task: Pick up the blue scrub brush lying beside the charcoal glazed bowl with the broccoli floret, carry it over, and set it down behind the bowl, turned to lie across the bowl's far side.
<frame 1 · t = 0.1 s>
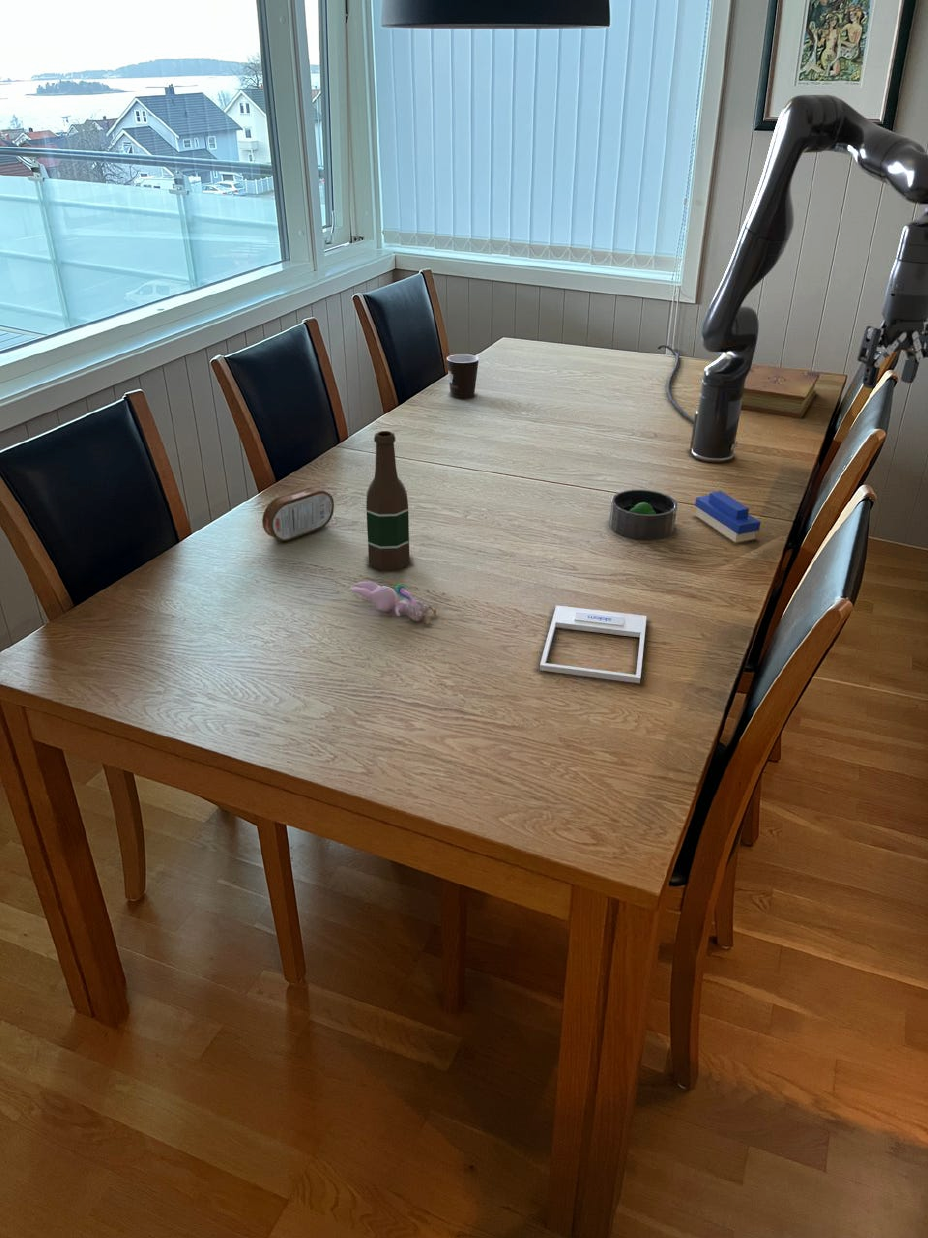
hand: (887, 384, 161), 29 cm above the table, tool pointing down, fingers open, 8 cm apart
rabbit figure: (392, 612, 150), on the table
broccoli floret: (641, 526, 178), resting on bowl
tin: (301, 534, 175), on the table
bowl: (641, 528, 178), on the table
beer bottle: (389, 562, 165), on the table
coffee mug: (462, 394, 251), on the table
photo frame: (595, 645, 142), on the table
brush: (724, 528, 178), on the table
diary: (772, 401, 249), on the table
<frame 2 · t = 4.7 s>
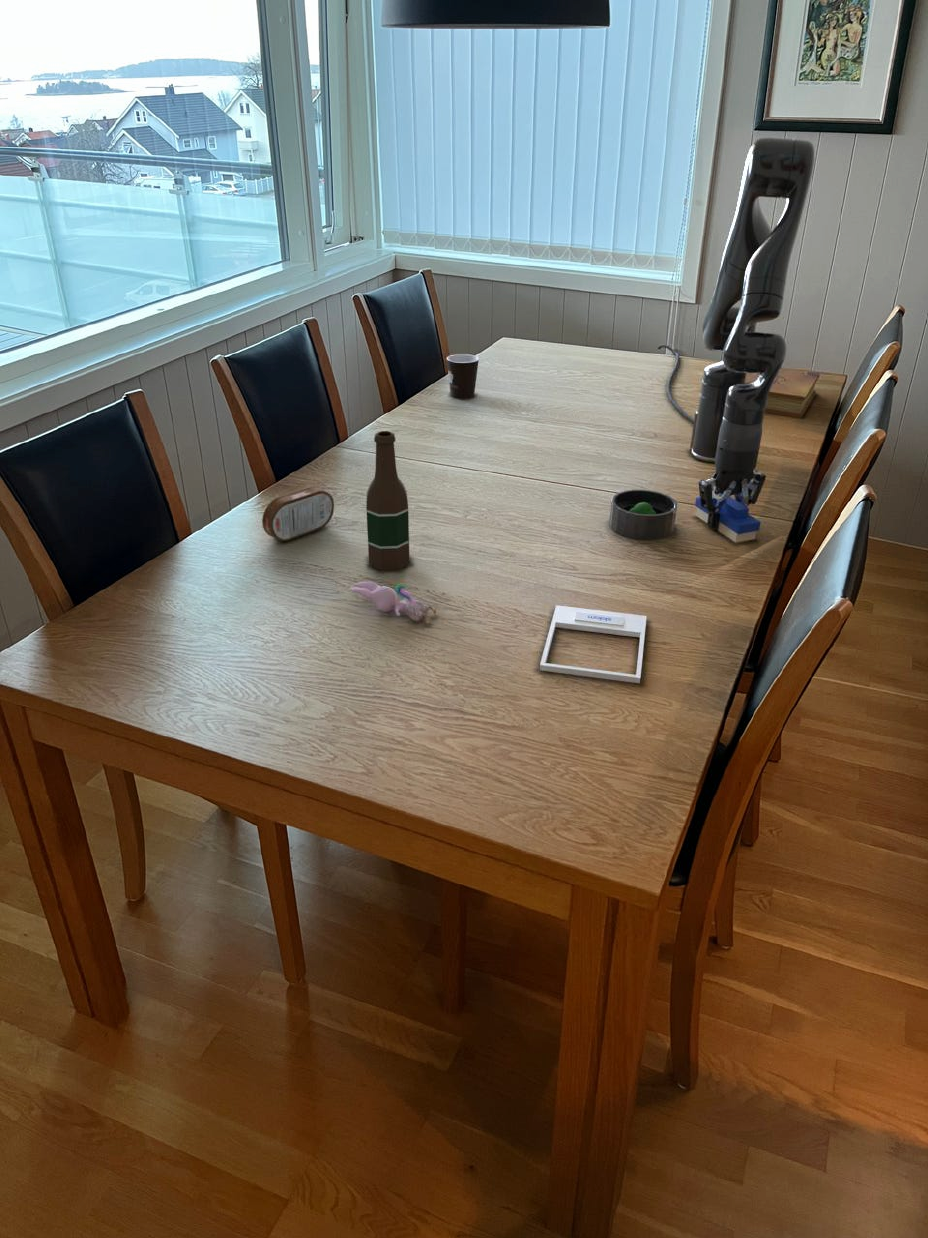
hand: (724, 526, 178), 1 cm above the table, tool pointing down, fingers closed on brush, 4 cm apart
brush: (724, 528, 178), on the table, touching gripper
everything else where it was.
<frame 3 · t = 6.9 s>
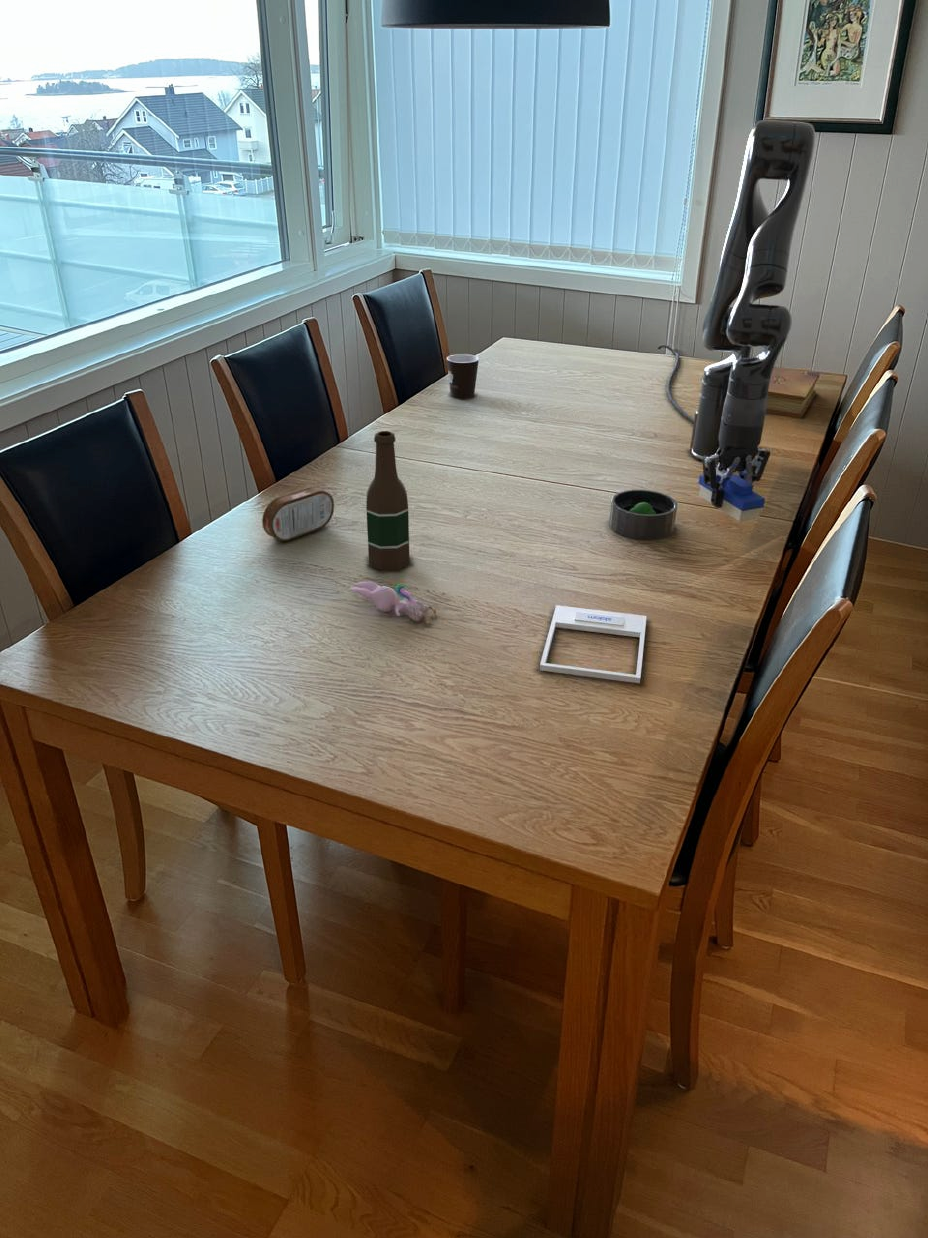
hand: (728, 503, 176), 5 cm above the table, tool pointing down, fingers closed on brush, 4 cm apart
brush: (728, 506, 176), point 5 cm above the table, touching gripper
everything else where it was.
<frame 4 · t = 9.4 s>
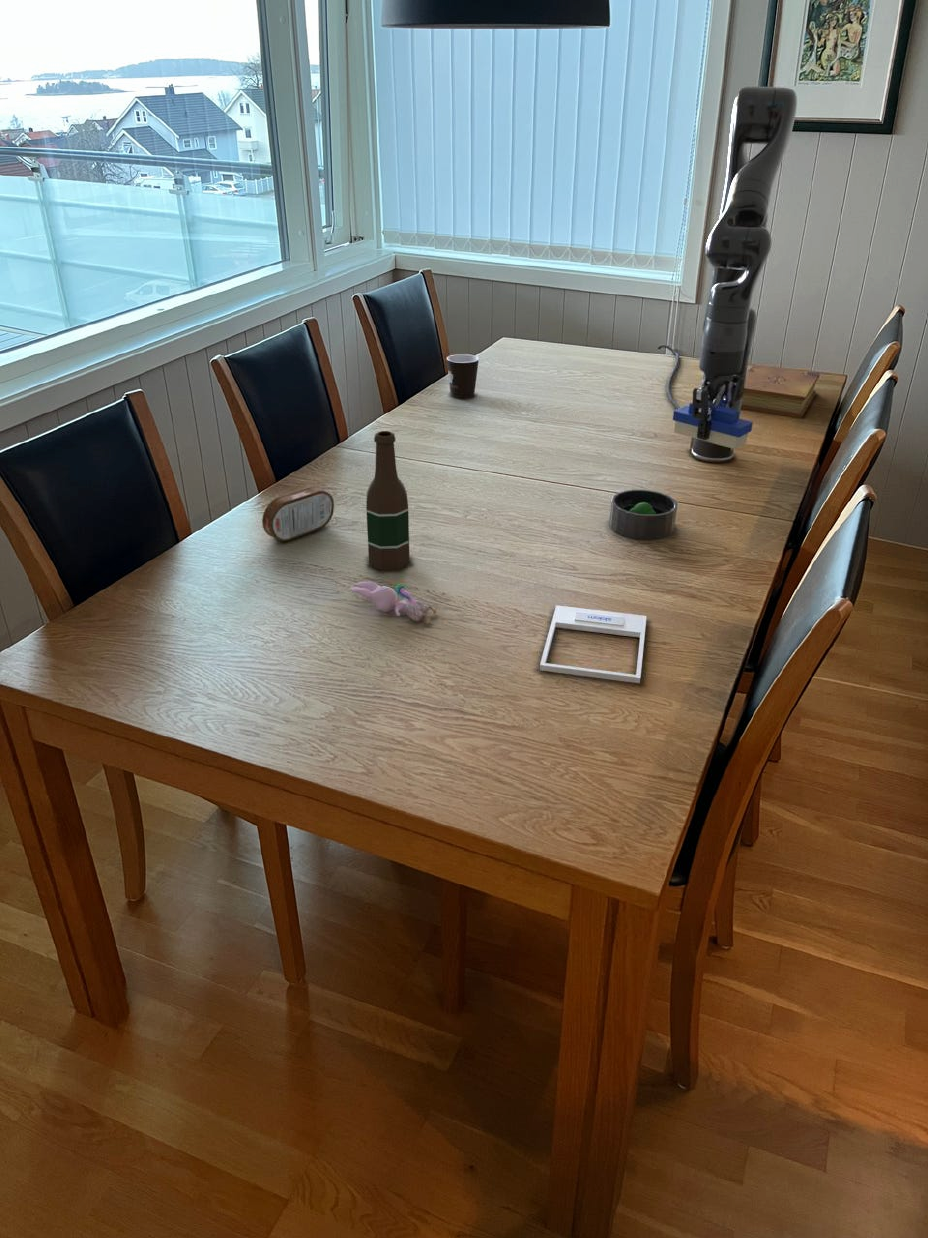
hand: (709, 434, 174), 17 cm above the table, tool pointing down, fingers closed on brush, 4 cm apart
brush: (709, 437, 174), point 17 cm above the table, touching gripper
everything else where it was.
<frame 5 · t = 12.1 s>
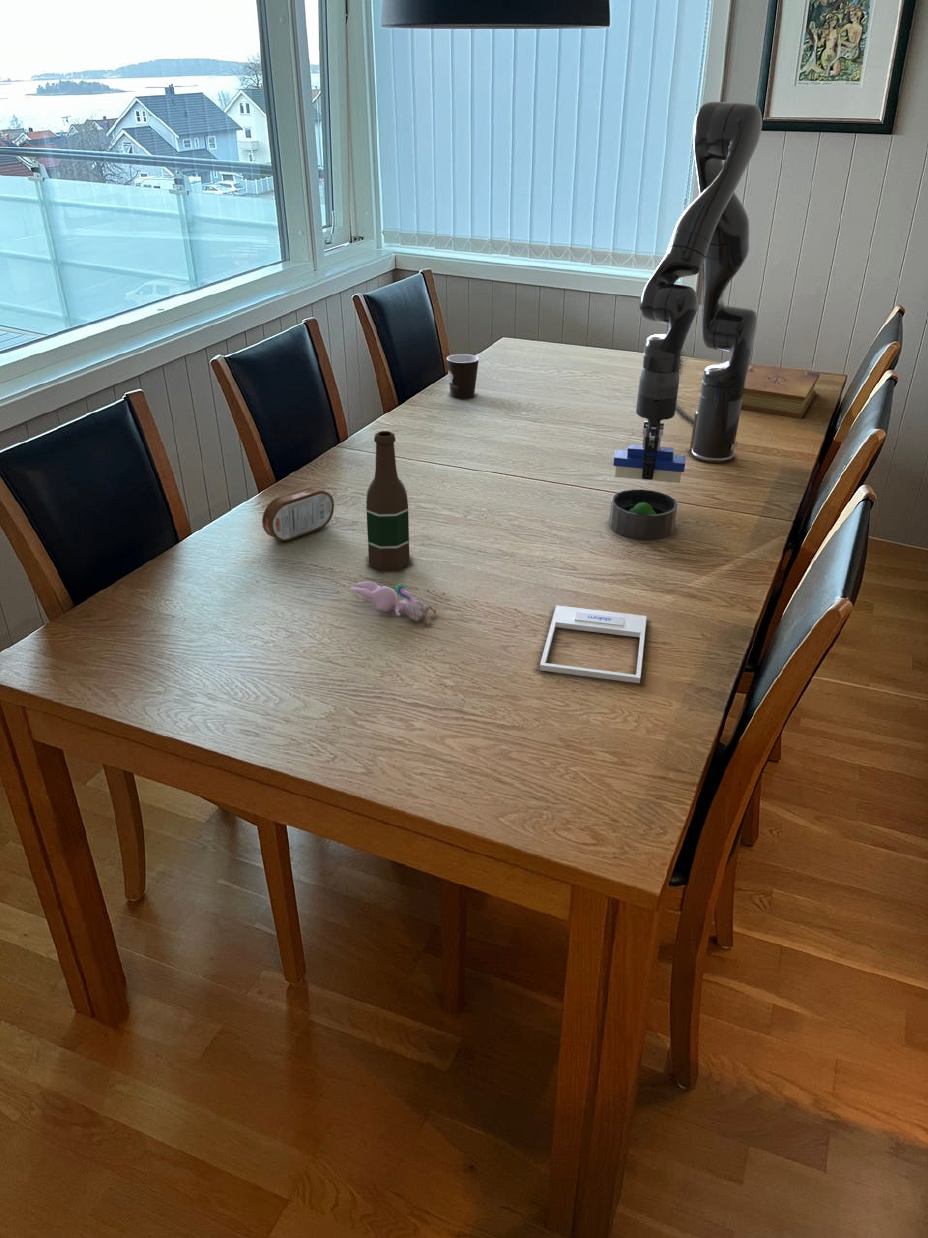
hand: (647, 473, 187), 6 cm above the table, tool pointing down, fingers closed on brush, 4 cm apart
brush: (647, 476, 187), point 5 cm above the table, touching gripper
everything else where it was.
when the fingers open (1 cm above the table, at t = 14.0 s): brush stays where it is, on the table.
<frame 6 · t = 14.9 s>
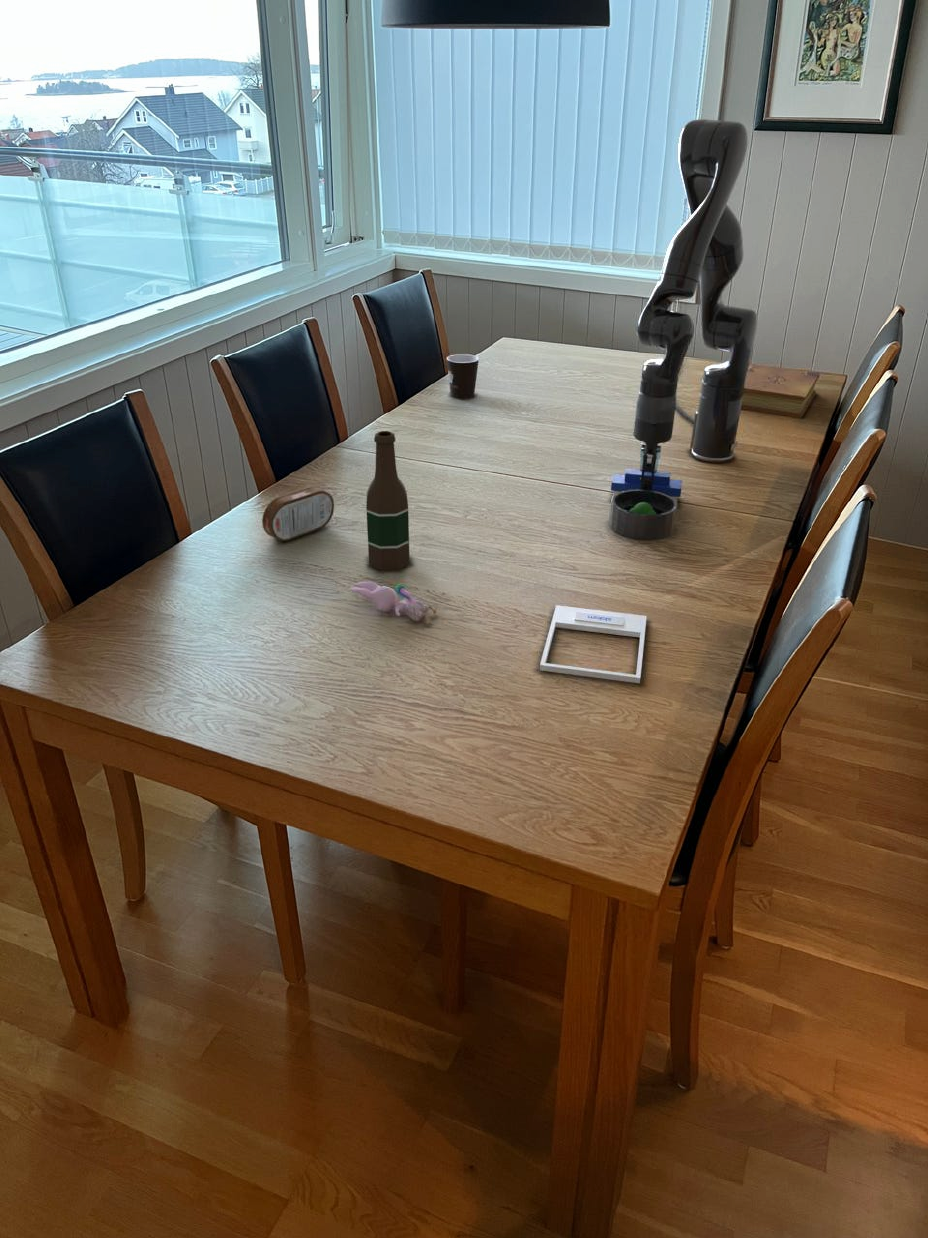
hand: (645, 491, 189), 2 cm above the table, tool pointing down, fingers open, 8 cm apart
brush: (644, 500, 190), on the table
everything else where it was.
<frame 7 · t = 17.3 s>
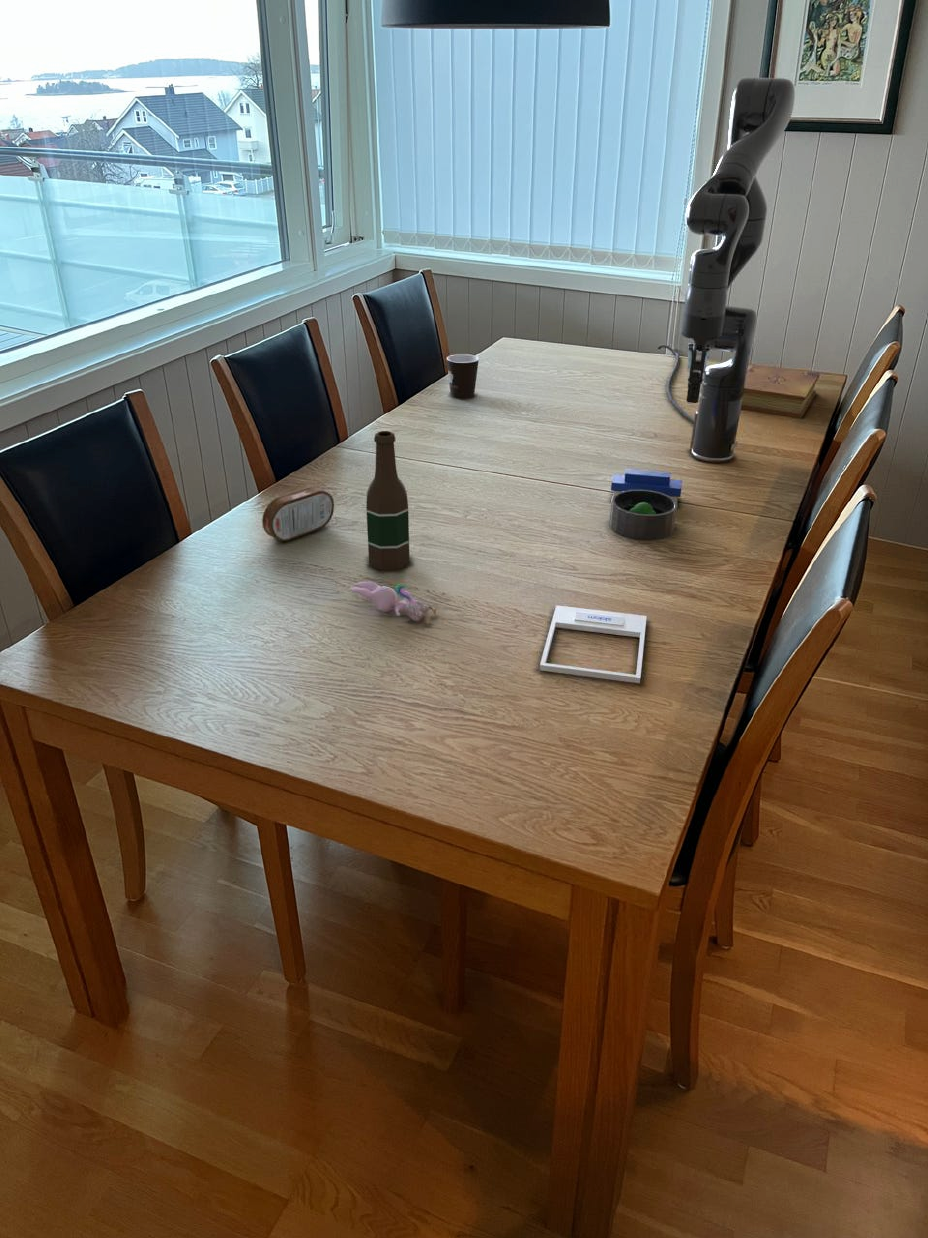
hand: (692, 395, 179), 22 cm above the table, tool pointing down, fingers open, 8 cm apart
nothing on the table moved.
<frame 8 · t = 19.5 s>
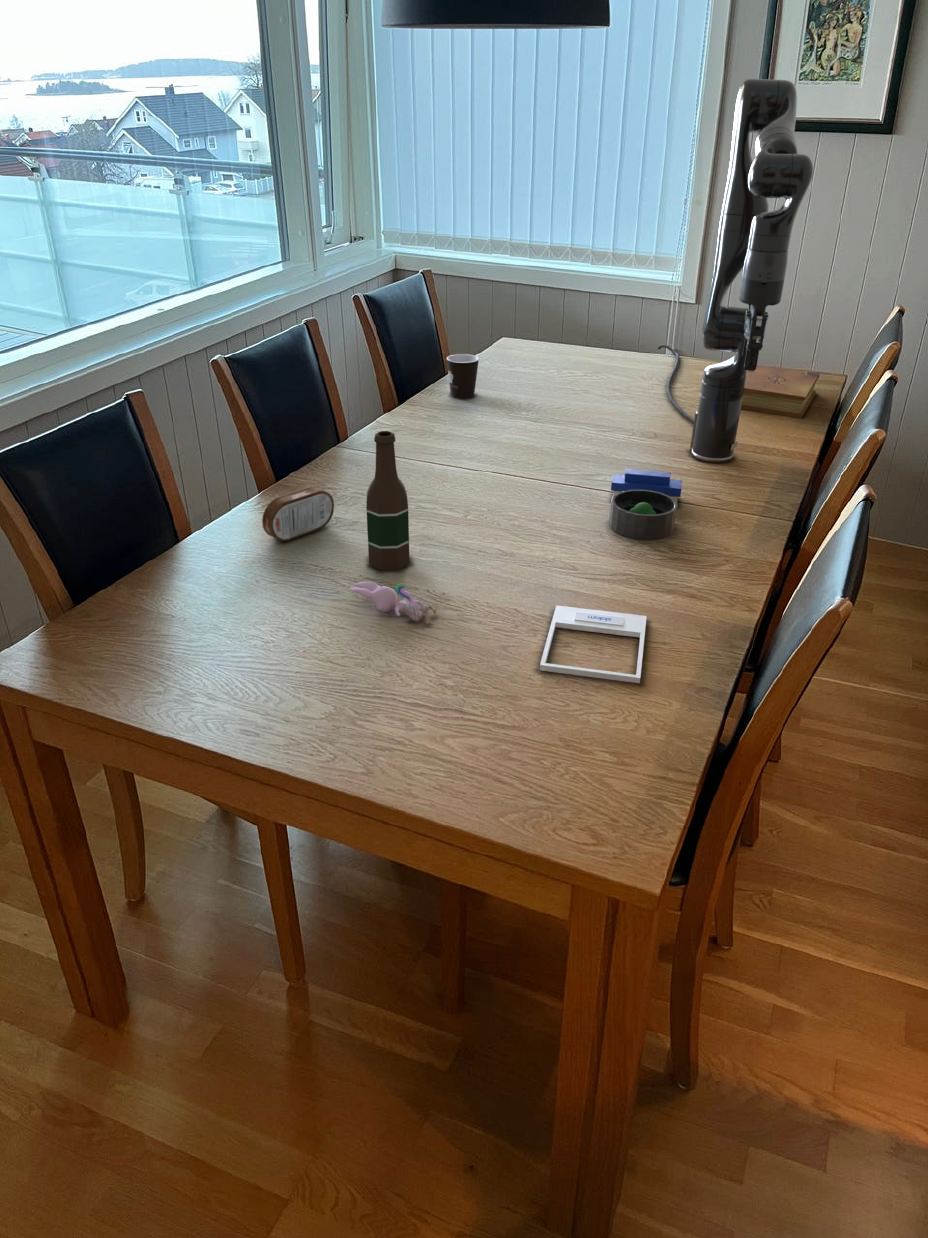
hand: (748, 363, 176), 28 cm above the table, tool pointing down, fingers open, 8 cm apart
nothing on the table moved.
at the end: brush inside the target area on the table beside the bowl (0.2 cm from its centre), on the table; brush tilted 0°; the gripper is holding nothing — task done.
